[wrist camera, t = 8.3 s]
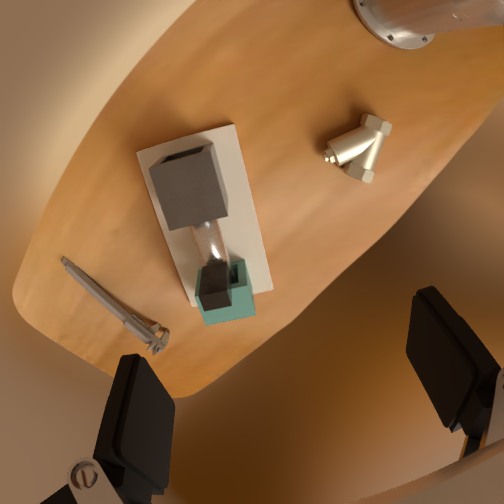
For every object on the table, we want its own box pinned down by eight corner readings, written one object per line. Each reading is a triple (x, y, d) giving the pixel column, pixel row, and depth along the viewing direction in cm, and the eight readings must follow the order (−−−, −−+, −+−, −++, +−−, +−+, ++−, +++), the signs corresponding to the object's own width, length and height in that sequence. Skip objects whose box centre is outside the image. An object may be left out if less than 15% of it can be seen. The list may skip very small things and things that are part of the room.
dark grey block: (213, 142, 34) (210, 150, 29) (228, 197, 38) (228, 216, 32) (160, 157, 35) (148, 168, 29) (177, 210, 38) (169, 231, 32)
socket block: (244, 259, 42) (247, 285, 36) (252, 287, 44) (255, 315, 38) (198, 269, 42) (194, 296, 36) (208, 296, 44) (206, 325, 39)
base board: (234, 123, 34) (234, 124, 33) (272, 285, 45) (273, 289, 44) (138, 151, 35) (135, 152, 34) (192, 302, 46) (192, 307, 45)
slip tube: (211, 188, 36) (205, 217, 27) (239, 287, 42) (243, 333, 34) (183, 195, 36) (169, 226, 28) (215, 292, 42) (213, 338, 34)
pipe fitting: (316, 160, 38) (362, 178, 39) (322, 166, 34) (373, 185, 35) (336, 102, 34) (383, 123, 35) (345, 102, 31) (395, 125, 32)
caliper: (170, 328, 48) (165, 356, 43) (167, 332, 48) (161, 360, 43) (64, 255, 41) (46, 277, 35) (62, 260, 41) (44, 282, 36)
